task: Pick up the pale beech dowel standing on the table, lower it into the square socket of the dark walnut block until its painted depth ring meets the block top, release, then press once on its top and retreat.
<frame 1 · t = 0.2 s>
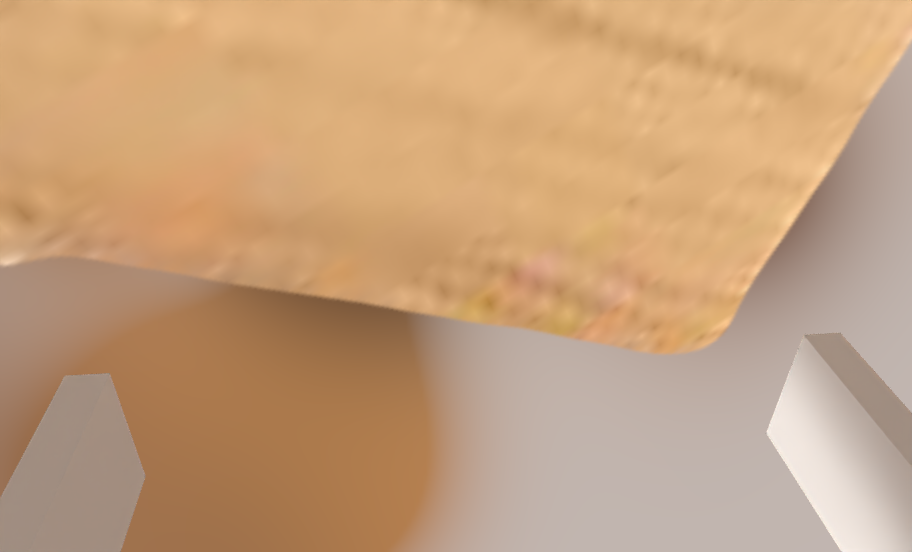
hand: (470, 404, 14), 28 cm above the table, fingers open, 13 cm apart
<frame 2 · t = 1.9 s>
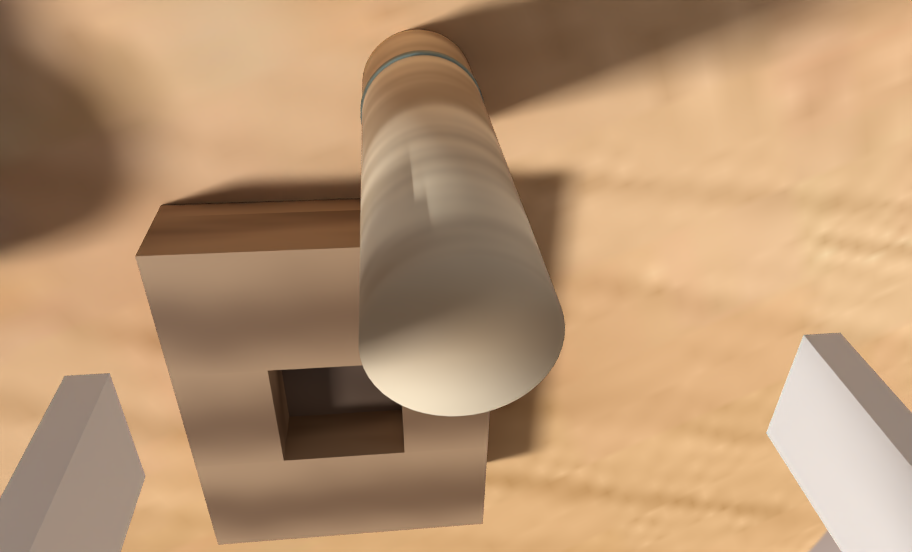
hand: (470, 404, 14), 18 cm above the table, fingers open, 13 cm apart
board: (342, 356, 35), on the table
peg: (417, 85, 28), on the table
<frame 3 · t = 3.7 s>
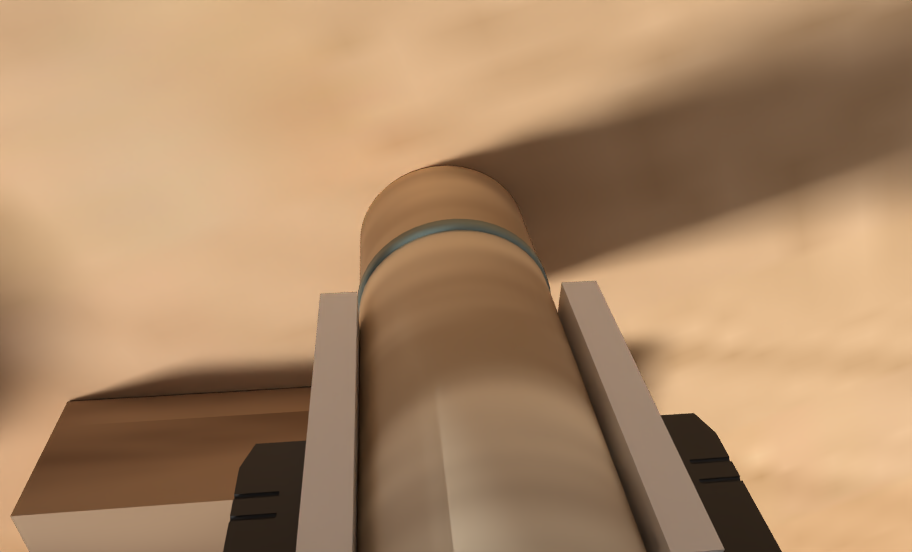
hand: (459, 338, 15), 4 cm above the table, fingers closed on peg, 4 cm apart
peg: (442, 240, 19), on the table, touching gripper
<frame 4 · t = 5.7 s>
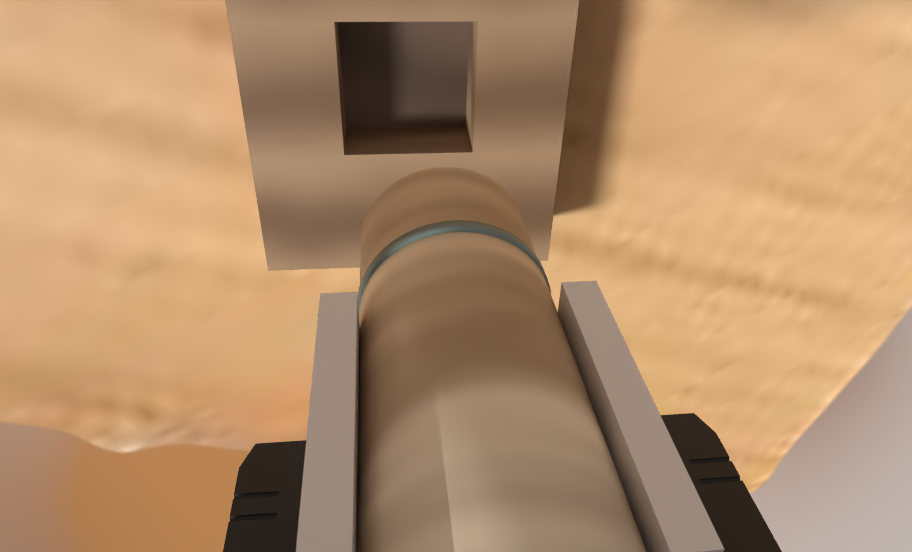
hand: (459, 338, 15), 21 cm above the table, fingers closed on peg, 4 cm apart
board: (404, 60, 33), on the table
peg: (443, 241, 19), point 17 cm above the table, touching gripper
when the fingers open (6 cm above the table, at t = 8.0 s): peg stays where it is, resting on board.
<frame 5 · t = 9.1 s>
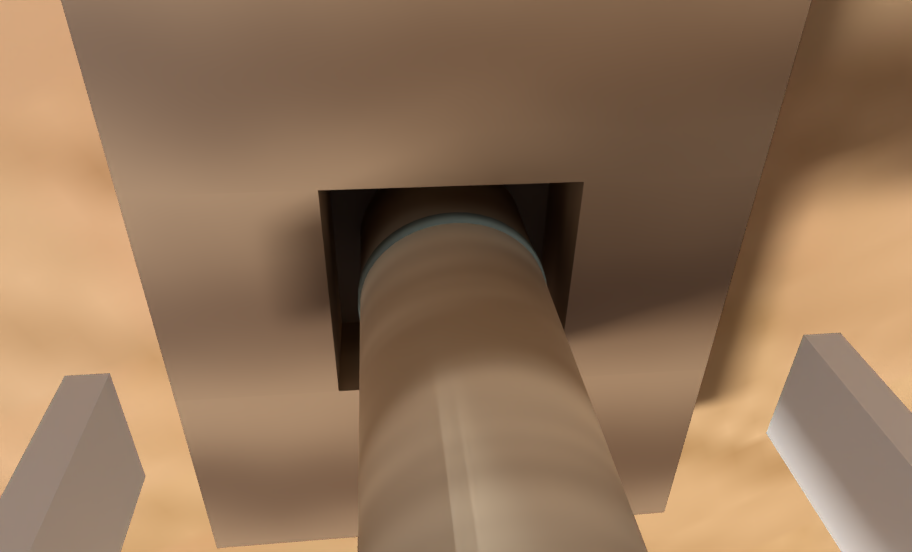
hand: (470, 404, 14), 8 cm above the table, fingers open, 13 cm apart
board: (437, 214, 20), on the table
peg: (441, 235, 19), point 1 cm above the table, touching board
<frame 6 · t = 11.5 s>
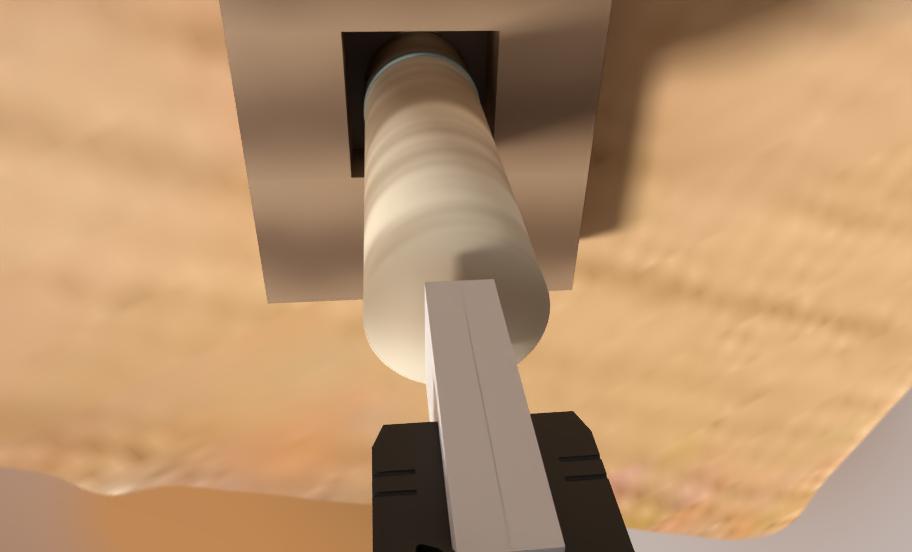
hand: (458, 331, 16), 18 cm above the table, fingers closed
board: (415, 74, 30), on the table
peg: (417, 84, 29), point 1 cm above the table, touching board
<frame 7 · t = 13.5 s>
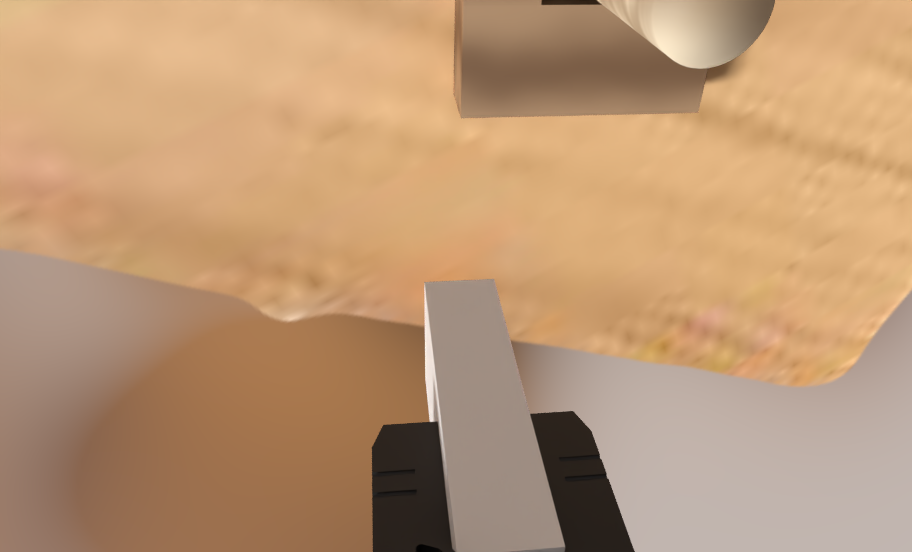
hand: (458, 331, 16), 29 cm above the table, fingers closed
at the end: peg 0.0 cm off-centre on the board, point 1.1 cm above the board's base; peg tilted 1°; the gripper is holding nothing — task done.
